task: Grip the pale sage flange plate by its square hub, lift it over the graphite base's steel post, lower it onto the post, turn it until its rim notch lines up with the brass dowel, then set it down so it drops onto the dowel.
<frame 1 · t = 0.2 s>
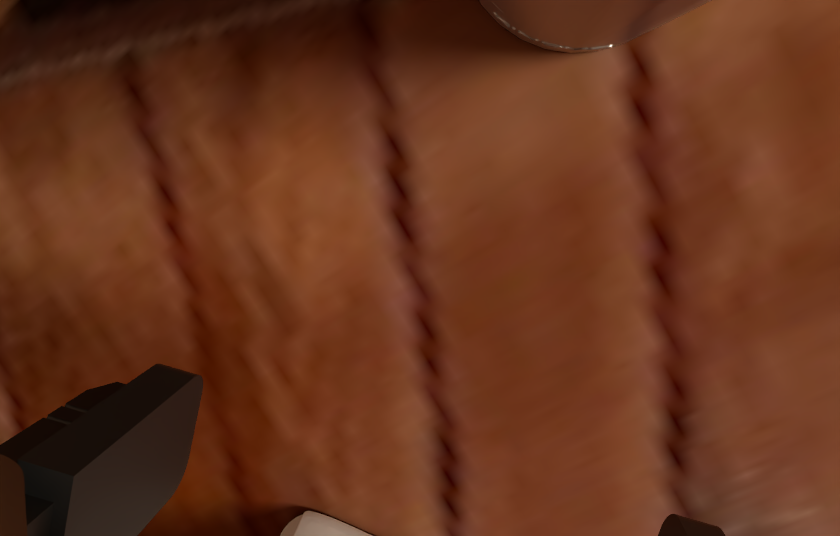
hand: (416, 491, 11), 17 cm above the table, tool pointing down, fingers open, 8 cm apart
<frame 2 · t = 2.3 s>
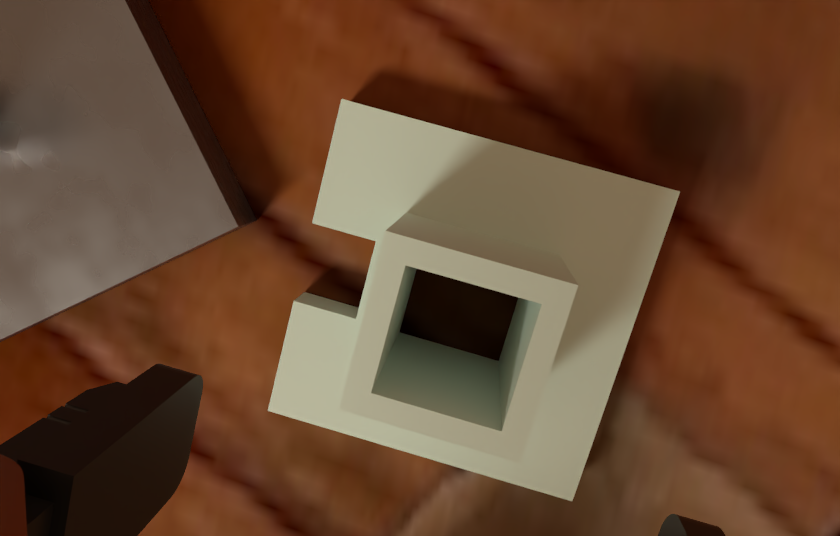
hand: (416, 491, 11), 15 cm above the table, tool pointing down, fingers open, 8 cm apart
flange plate: (462, 298, 26), on the table
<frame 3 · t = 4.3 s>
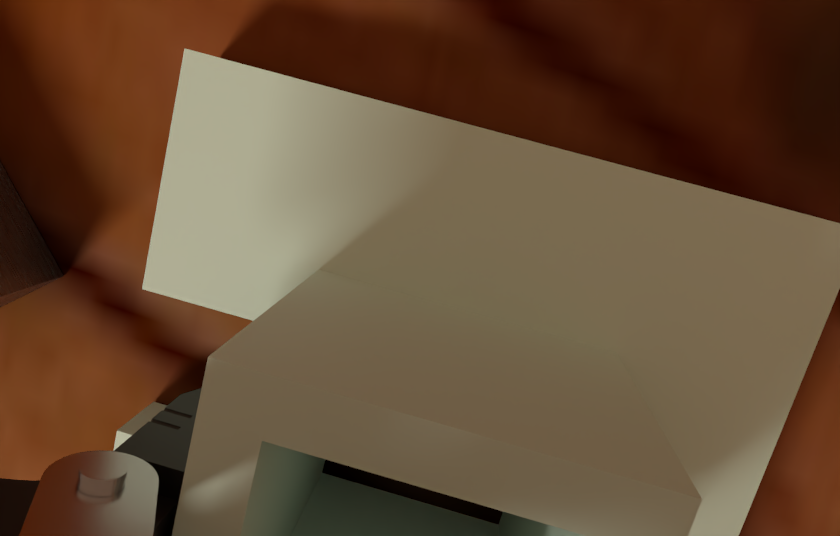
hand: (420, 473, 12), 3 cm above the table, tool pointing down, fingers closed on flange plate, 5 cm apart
flange plate: (433, 415, 14), on the table, touching gripper
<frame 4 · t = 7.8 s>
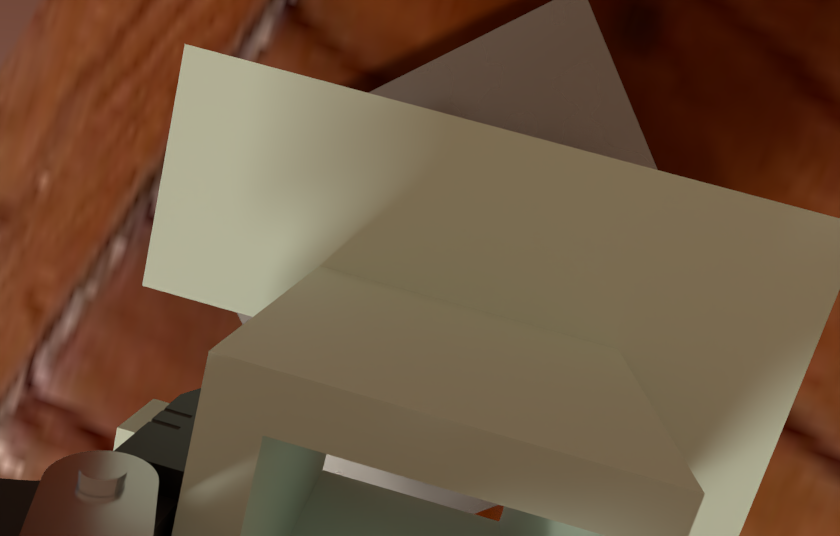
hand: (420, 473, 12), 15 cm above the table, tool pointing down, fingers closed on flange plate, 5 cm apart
post fixture: (463, 286, 27), on the table
flange plate: (434, 413, 14), point 13 cm above the table, touching gripper
when the fingers open (5 cm above the table, at t = 11.4 s): flange plate stays where it is, resting on post fixture.
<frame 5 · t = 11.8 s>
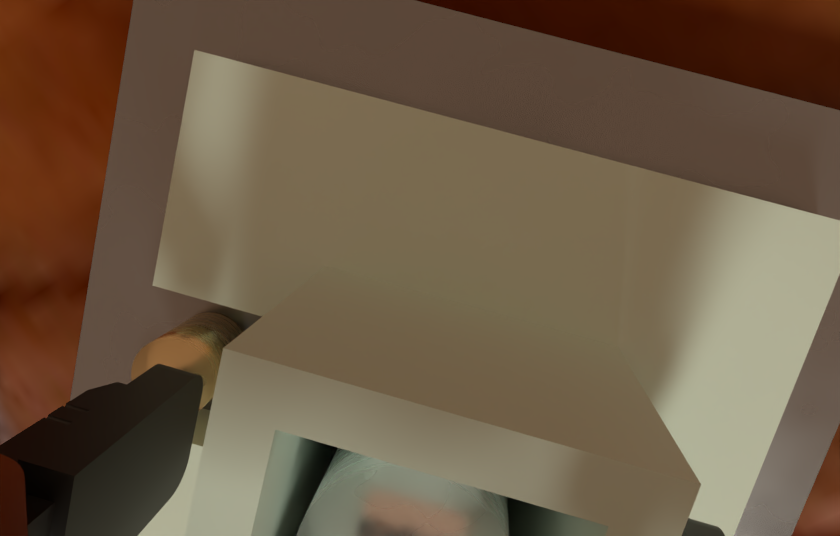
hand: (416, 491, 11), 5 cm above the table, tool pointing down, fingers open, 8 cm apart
post fixture: (439, 377, 17), on the table
flange plate: (437, 410, 15), point 2 cm above the table, touching post fixture
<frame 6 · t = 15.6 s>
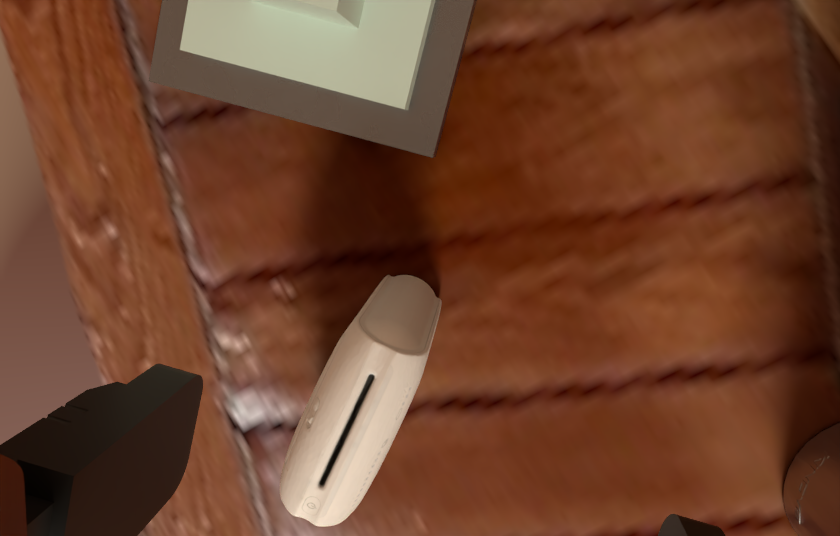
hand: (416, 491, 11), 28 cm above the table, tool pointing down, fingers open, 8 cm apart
photo printer: (384, 351, 41), on the table
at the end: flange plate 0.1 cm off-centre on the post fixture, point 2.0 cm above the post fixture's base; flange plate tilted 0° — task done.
